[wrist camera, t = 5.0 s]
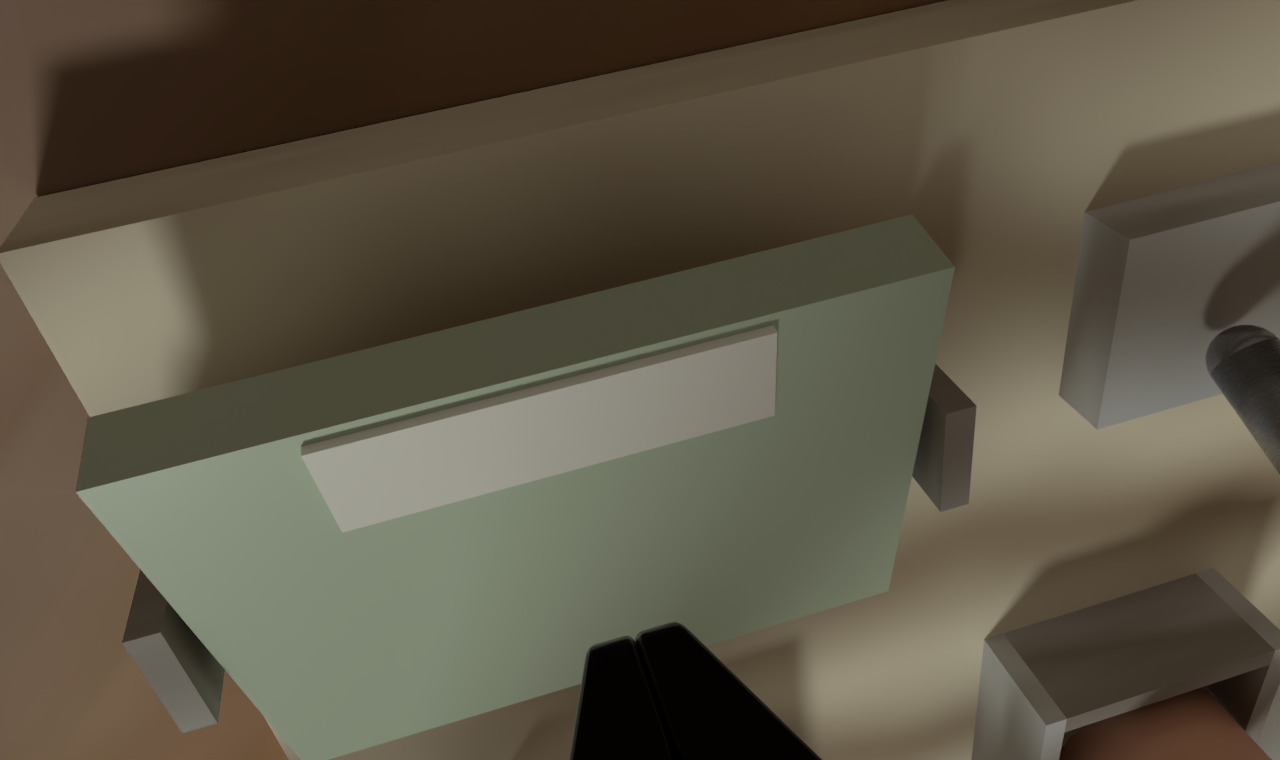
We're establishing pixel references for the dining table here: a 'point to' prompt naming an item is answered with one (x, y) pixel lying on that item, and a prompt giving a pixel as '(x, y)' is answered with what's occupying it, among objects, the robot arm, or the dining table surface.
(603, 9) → the dining table surface
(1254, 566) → the control panel
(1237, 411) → the toggle lever
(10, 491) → the dining table surface
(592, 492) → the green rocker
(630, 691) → the robot arm
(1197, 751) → the terracotta button
